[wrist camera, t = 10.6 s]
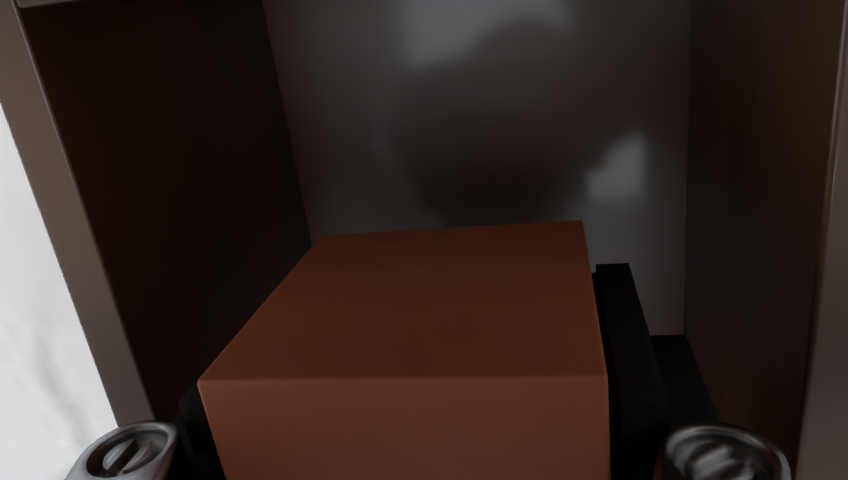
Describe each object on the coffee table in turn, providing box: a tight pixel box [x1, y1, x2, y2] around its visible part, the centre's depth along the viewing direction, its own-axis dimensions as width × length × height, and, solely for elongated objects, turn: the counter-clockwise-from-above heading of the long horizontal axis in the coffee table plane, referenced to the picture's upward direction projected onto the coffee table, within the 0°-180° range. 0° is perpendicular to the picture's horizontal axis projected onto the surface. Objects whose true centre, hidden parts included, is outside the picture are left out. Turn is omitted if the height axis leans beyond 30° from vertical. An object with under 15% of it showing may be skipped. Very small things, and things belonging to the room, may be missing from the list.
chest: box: [0, 0, 848, 480], centre depth 14 cm, size 15×12×9 cm
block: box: [197, 220, 611, 480], centre depth 10 cm, size 5×5×5 cm
